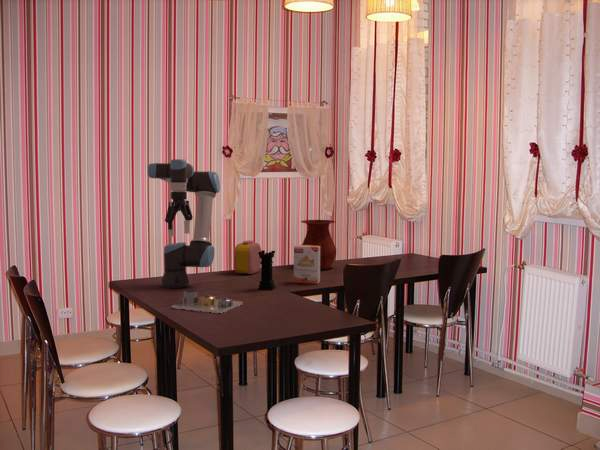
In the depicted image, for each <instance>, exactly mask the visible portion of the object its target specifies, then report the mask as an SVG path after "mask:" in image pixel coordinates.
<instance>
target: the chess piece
mask: <svg viewBox="0 0 600 450" xmlns="http://www.w3.org/2000/svg"><path fill="white" fill-rule="evenodd" d="M275 253H276V250H270V251H269V252H266V250H264V249H263V250H262V249H261V252H258V254H259V258H261V262H260V264H261V267H260V270H261V271H260V273H261V275H260V276H261V277H260V278H261V279H260V281H259V282H258V287H257V291H274V290H275V289H276V288H277V286H276V283H275V280H274V279H273V264H274V261H273V258H275Z"/></svg>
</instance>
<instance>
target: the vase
mask: <svg viewBox="0 0 600 450" xmlns="http://www.w3.org/2000/svg"><path fill="white" fill-rule="evenodd" d="M300 223H303V224H306V225H307V231H306V235H305V236H304V239H303V241H302V244H301V245H308V246H320V271H321V270H327V269H330V268H331V267H332V265H333V264H334V263H335V262H334V261H335V260H336V257H337V247H336V244H335V242H334V240H333V238H332V236H331V234H330V233H331V232H330V224H334V223H336V220H333V219H331V220H330V219H305V220H301V221H300Z"/></svg>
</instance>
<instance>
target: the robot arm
mask: <svg viewBox="0 0 600 450" xmlns="http://www.w3.org/2000/svg"><path fill="white" fill-rule="evenodd" d="M147 176H148V177H149V178H150V179H158V180H162V181H164V182H167V183H168V184H170V191H171V192H170V198H171V200H172V201H168V206H167V207H168V208H167V212H166V215H165V218H164V222H165V223H167V229H168V230H167V232H168V233H167V234H168V237H175V223H174V220H175V218H176V215H177V213H178V212H181V213H182V216H183V217H184V221H183V222H184V225H183V227H184V230H183V231H184V234H187V235H188V234H191V221H193V218H194V216H193V213H192V211H191V207H190V201H189V200H188V198H187V197H188V196H187V193H194V196H196V208H195V218H194V230H193V239H191V240H190V242H189V245H187V243H186V242H174V243H168V244H166V245H165V246H164V247H163V269H164V272H163V276H162V277H161V283H160V284H161V287H162V288H167V289H181V288H187V287H189V286H190V285H191V284H190V283H191V282H190V279H189V276H188V272H187V268H201V269H202V268H209V267H211V265H212V264H213V262H214V259H215V247H214V246H213V245H212V244H213V243H212V242H211V240H210V236H211V235H210V234H211V224H212V215H213V214H212V211H213V201H214V199H215V198H216V196H217V193H220V190H221V183H220V181H221V180H220V177H219V174H218V173H217V171H195V168H194V166H193V165H192V164H190V163H188V162H187V161H186V159H183V158H182V159H177V158H175V159H171V160H170V163H167V162H166V163H164V162H163V163H162V162H161V163H159V162H152V163H150V164H148V166H147Z"/></svg>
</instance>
